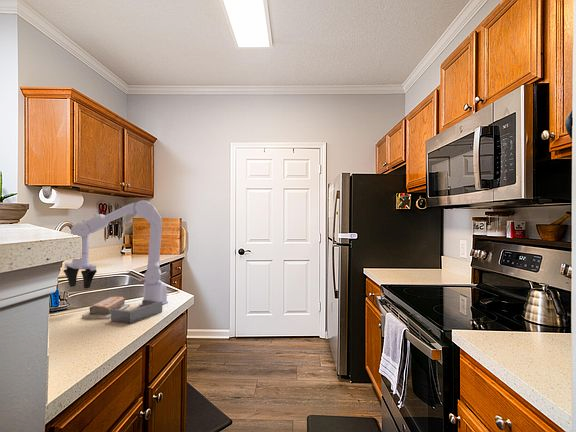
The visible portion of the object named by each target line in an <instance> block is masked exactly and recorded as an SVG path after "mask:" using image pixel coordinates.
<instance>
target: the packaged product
mask: <svg viewBox="0 0 576 432" xmlns="http://www.w3.org/2000/svg"><path fill="white" fill-rule="evenodd" d="M125 300H126V298H125V297H123V296H110V297H107V298H105V299H101V300H100V301H99V302H96V303H94V304H92V305H90V306H89V311H87V312H85V313H84V314H82V315H81V317H82V319H95V320H96V319H97V320H98V319H101V320H103V319H105V320H109V319H111V310H112V309H119V310H126V309H127V308H129V307H130V306H131V305H130V304H126V303H125ZM125 308H126V309H125Z"/></svg>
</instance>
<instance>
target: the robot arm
mask: <svg viewBox="0 0 576 432" xmlns="http://www.w3.org/2000/svg"><path fill="white" fill-rule="evenodd" d="M127 215H138V216H140V217H142V218H145V220H146V221H147V222H148V223H149V224H150V225H149V242H148V243H149V244H148V254H147V255H148V257H147V268H146V271H145V273H144V275H143V278H144V282H143V297H142V298H143V299H142V300H153V301H162V305H164V304H167V303H169V301H168V299H167V298H168V297H167V296H168V295H167V294H168V293H167V291H168V287H167V285H166V283H165V282H163V280H161V276H162V270H161V268H160V266H161V265H160V260H161V244H162V226H163V218H162V217H161V214H159V212H158V210H157V208H156V207H155V206H154V205H153V204H152V203H150V202H149V201H147V200H145V199H144V200H143V199H142V200H139V201H137V202H132V203H129V204H126V205H123V207H120V208H118V209H116V210H114V211H111V212H110V213H108V214H102V213H100V214H98V213H96V214H94V215H93V216H92V217H91V218H89V219H84V220H82V221H81V222H79V223H78V222H77V223H75V224H74V225H73V226H71V228H70V234H71V235H72V234H73V235H78V236H81V237H82V258H80V259H73V260H72V259H71V262H66V263H64V269H63V273H64V274H65V276H66V279H67V283H68V285H69V287H70V288H72V287H76V286H77V280H78V279H77V278H78V274H79V271H80V270H81V275H82V279H83V289H90V287H91V284H92V281H93V279H94V277H95V275H96V274H97V265H95V264H91V263H89V260H90V259H89V254H90V253H89V252H90V251H89V250H90V246H89V245H90V242H89V240H90V239H89V236H90V234H94V233H96V232H99V231H100V230H103V229H105V228H107V227H108V226H109V224H110V222H113V221H114V220H117V219H119V218H123V217H125V216H127ZM73 235H72V236H73ZM138 306H141V307H142V302H141V303H138Z"/></svg>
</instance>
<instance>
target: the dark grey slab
mask: <svg viewBox="0 0 576 432" xmlns="http://www.w3.org/2000/svg"><path fill="white" fill-rule="evenodd" d="M141 301H142V302H141V303H142V306H141V307H138V308H135V309H131V310H127V309H124V310H119V309H112V310H111V318H110V322H114V323H122V324H127V325H130V324H133V323H136V322H139V321H141V320H143V319H147V318H149V317H151V316H154V315H157V314H159V313H160V314H161V313H162V312H163V304H162V301H153V300H143V299H142V300H141Z"/></svg>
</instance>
